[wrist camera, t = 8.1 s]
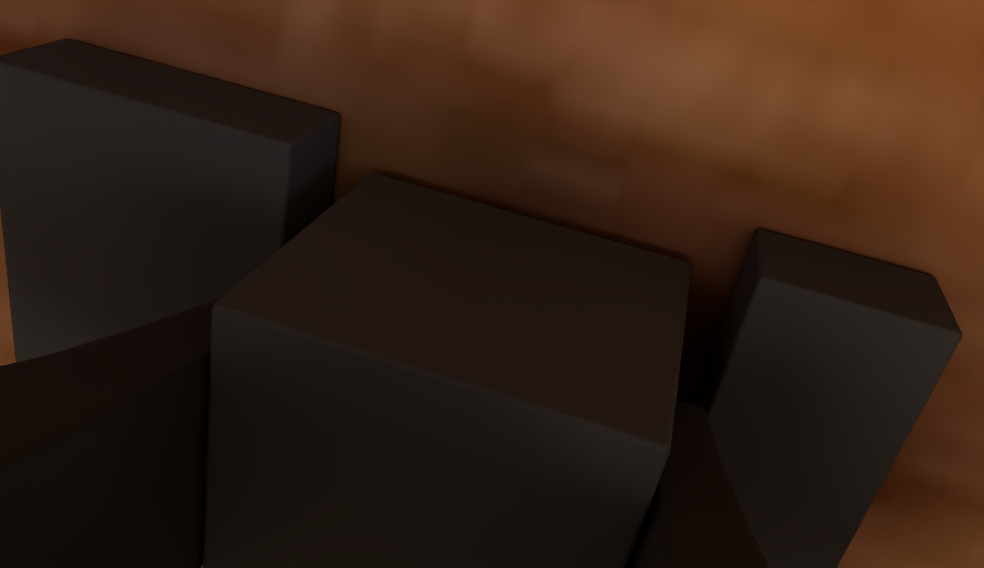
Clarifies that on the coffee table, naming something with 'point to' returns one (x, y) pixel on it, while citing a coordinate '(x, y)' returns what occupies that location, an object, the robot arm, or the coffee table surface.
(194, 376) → the robot arm
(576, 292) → the black cube
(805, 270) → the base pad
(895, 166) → the coffee table surface
